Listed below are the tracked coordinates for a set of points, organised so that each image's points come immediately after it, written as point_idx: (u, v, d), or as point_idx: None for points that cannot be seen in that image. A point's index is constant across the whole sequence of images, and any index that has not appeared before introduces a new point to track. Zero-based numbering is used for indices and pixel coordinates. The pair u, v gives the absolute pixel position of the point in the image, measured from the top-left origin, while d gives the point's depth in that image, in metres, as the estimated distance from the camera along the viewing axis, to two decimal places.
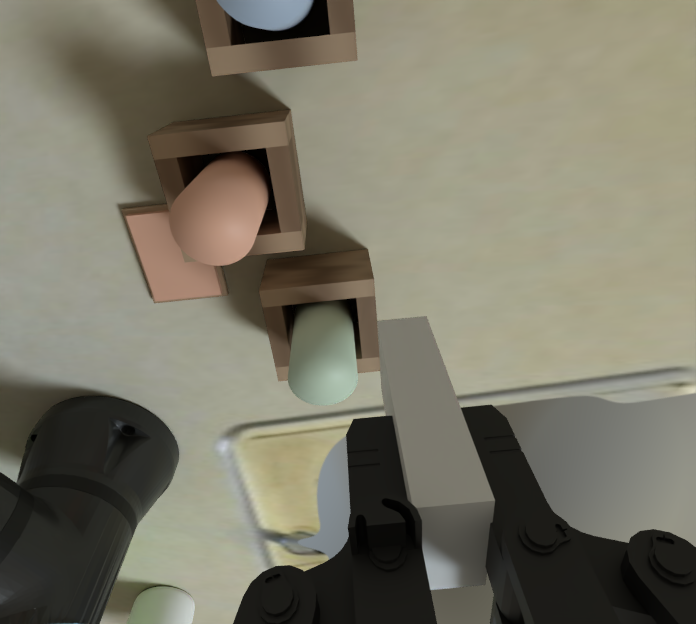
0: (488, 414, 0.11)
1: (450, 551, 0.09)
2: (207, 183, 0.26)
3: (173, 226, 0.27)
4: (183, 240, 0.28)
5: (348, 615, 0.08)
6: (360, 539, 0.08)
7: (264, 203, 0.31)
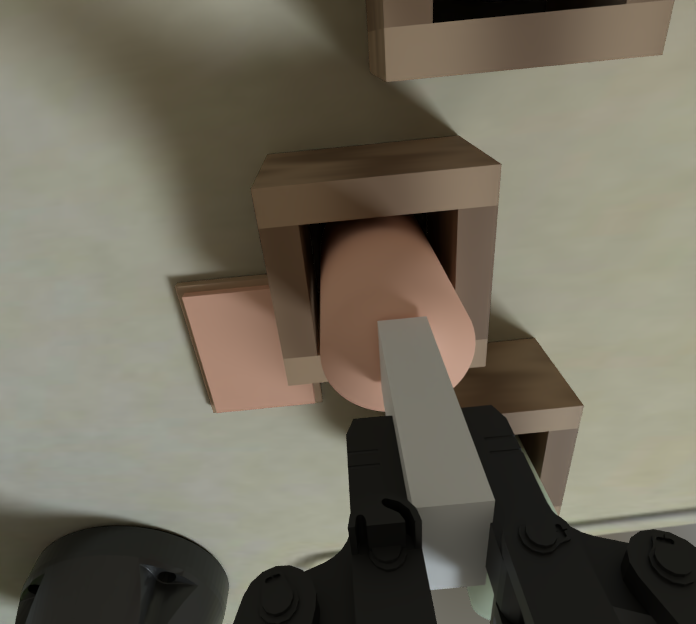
0: (488, 414, 0.11)
1: (451, 551, 0.09)
2: (403, 281, 0.14)
3: (326, 352, 0.15)
4: (340, 374, 0.15)
5: (348, 615, 0.08)
6: (360, 539, 0.08)
7: None
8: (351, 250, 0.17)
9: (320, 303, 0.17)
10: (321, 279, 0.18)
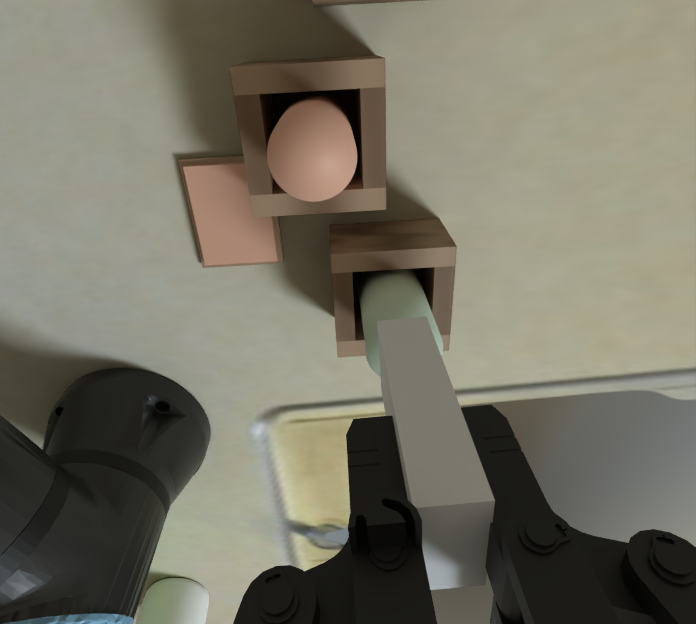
0: (488, 414, 0.11)
1: (450, 551, 0.09)
2: (313, 108, 0.25)
3: (270, 154, 0.26)
4: (279, 171, 0.26)
5: (348, 615, 0.08)
6: (360, 539, 0.08)
7: None
8: (291, 107, 0.28)
9: None
10: None
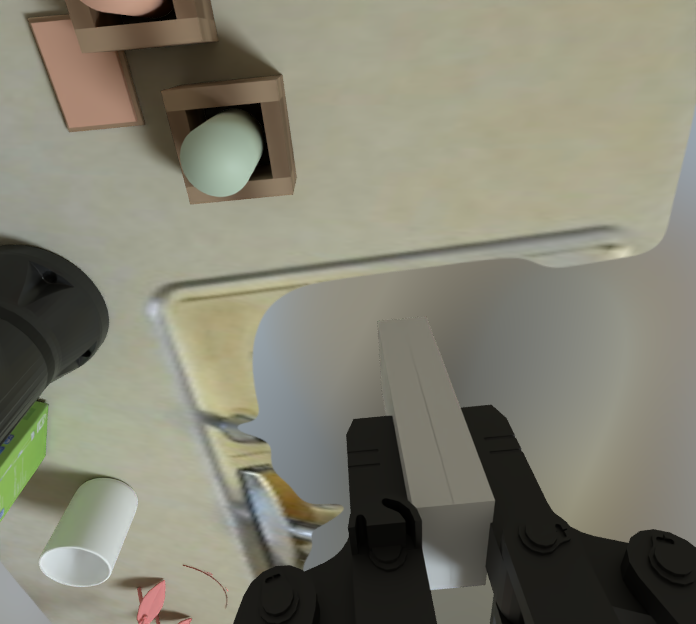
0: (488, 414, 0.11)
1: (451, 551, 0.09)
2: None
3: None
4: None
5: (348, 615, 0.08)
6: (360, 539, 0.08)
7: None
8: None
9: None
10: None
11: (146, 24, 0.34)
